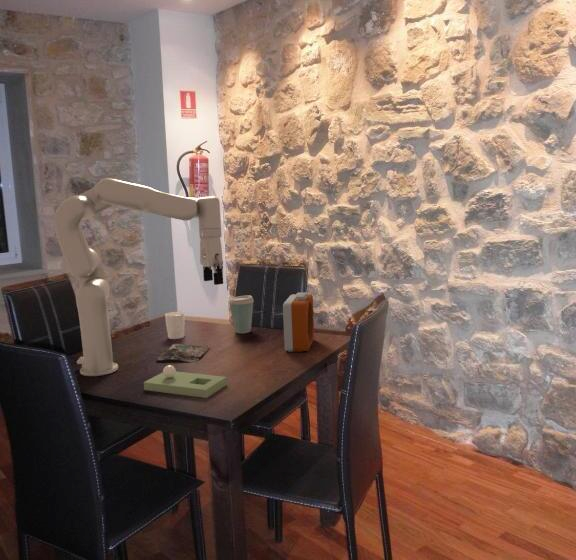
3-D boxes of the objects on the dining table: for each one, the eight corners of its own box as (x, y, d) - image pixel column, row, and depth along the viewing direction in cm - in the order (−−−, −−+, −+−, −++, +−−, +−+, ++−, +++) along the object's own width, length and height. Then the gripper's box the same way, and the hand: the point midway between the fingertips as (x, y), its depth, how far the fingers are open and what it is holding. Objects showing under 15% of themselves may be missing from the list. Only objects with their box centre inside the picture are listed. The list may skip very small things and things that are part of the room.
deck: (144, 389, 181) (143, 382, 181) (167, 377, 192) (166, 370, 191) (206, 398, 172) (206, 389, 171) (226, 384, 183) (226, 377, 182)
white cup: (180, 340, 239) (178, 316, 237) (163, 339, 241) (161, 315, 239) (189, 335, 246) (187, 311, 244) (172, 334, 248) (170, 311, 247)
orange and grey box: (308, 352, 213) (306, 297, 210) (284, 352, 215) (282, 297, 211) (314, 339, 231) (312, 288, 228) (292, 339, 233) (290, 288, 229)
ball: (160, 379, 183) (159, 366, 182) (168, 375, 186) (167, 363, 186) (171, 380, 181) (170, 368, 180) (178, 376, 185) (177, 364, 184)
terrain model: (197, 364, 207) (196, 355, 207) (156, 364, 209) (155, 356, 209) (212, 348, 227) (211, 340, 227) (174, 348, 229) (174, 340, 229)
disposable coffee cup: (231, 335, 242) (229, 300, 239) (229, 329, 252) (227, 295, 250) (257, 333, 244) (255, 298, 241) (253, 327, 254) (251, 293, 252)
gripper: (191, 232, 207) (194, 280, 209) (209, 235, 192) (212, 287, 194) (211, 231, 210) (214, 278, 213) (230, 233, 195) (233, 284, 198)
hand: (213, 282), depth 204 cm, fingers open, 9 cm apart
